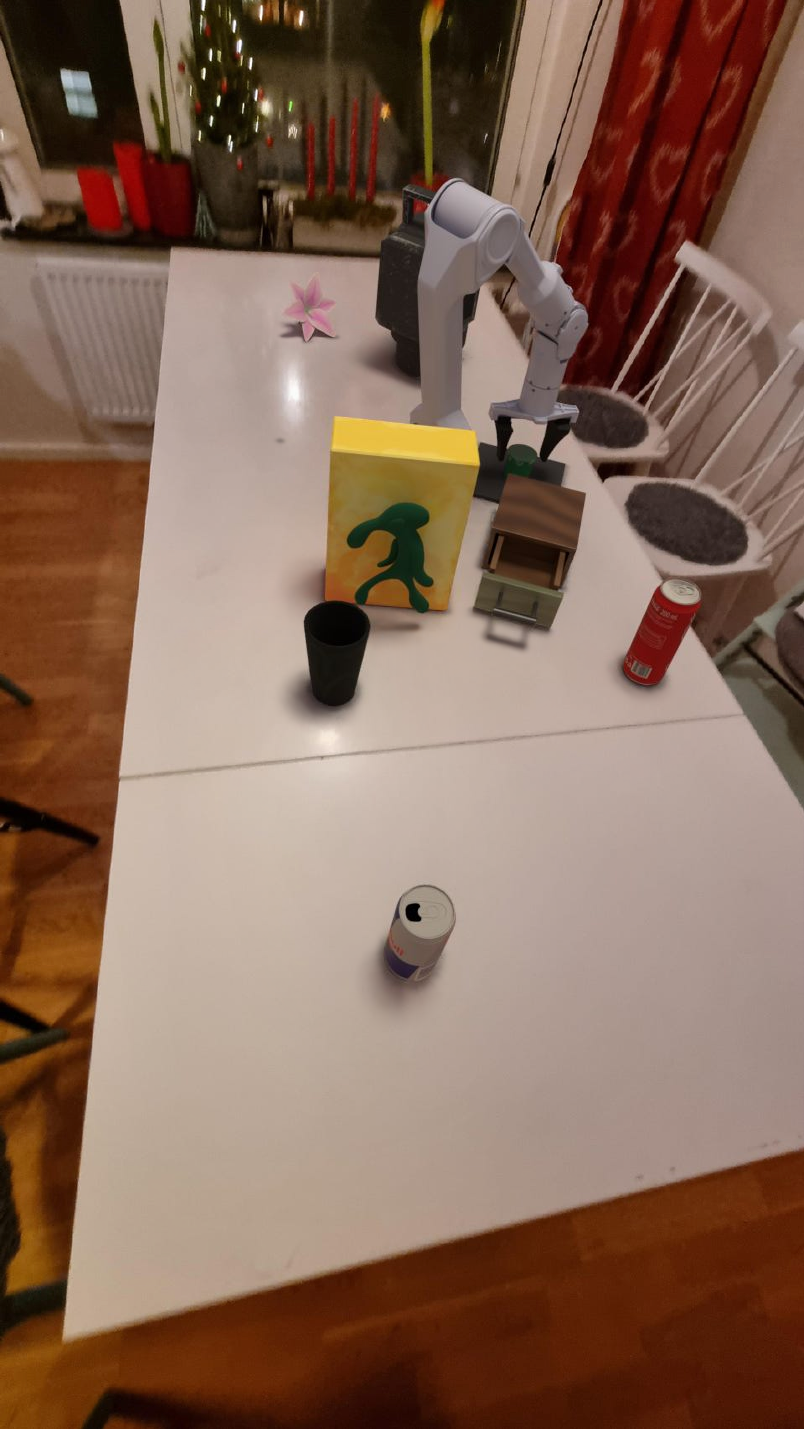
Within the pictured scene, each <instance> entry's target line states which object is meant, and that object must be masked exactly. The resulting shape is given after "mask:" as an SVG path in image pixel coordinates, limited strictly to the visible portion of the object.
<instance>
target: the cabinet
mask: <svg viewBox="0 0 804 1429" xmlns="http://www.w3.org/2000/svg"><path fill="white" fill-rule="evenodd" d="M586 498H587V492H584V491H580V490H576V489H572V488H568V487H565V486H562V485H561V486H557V485H553V484H549V483H545V482H541V481H538V480H534V479H530V478H526V477H522V476H518V475H514V474H510V473H508V476H507V479H506V483H505V486H504V489H503V493H502V496H501V499H500V502H499V503H498V506H497V509H496V513H495V515H494V520H493V523H492V526H491V530H490V533H489V537H488V541H487V545H486V548H485V552H484V555H483V560H482V563H481V568H483V569H487V570H489V569H490V565H491V562H492V558H493V555H494V551H495V548H496V544H497V541H498V537H499V534H502V535H506V536H510V537H514V538H518V539H521V540H525V541H529V542H533V543H537V544H540V545H544V546H548V547H552V548H556V549H559V550H563V551H566V554H565V559H564V565H563V570H562V576H561V581H560V586H559V589H562V588H563V584H564V582H565V579H566V577H567V575H568V572H569V570H570V568H571V565H572V563H573V560H574V557H575V555H576V552H577V549H578V544H579V539H580V534H581V533H580V532H581V527H582V522H583V514H584V509H585V505H586V504H585V503H586Z"/></svg>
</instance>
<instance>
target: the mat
mask: <svg viewBox="0 0 804 1429" xmlns="http://www.w3.org/2000/svg"><path fill="white" fill-rule="evenodd" d="M507 450H508V448H507V449H506V453H505V457H504V460H503V461H499V460H498V457H497V445H493V444H490V443H486V442H482V441H480V442H479V445H478V453H479V461H480V467H479V471H478V476H477V480H476V484H475V489H474V493H473V497H474V498H478V499H481V500H486V501H490V502H494V503H498V504H499V502H500V499H501V496H502V493H503V489H504V486H505V483H506V479H505V478H504V477H503V470H504V466H505V462H506V458H507ZM566 465H567V464H566V463H565V462H560V461H556V460H554V459H553V460H552V459H549V458H548V459H547V461H546V462H542V461H541V458H540V456H537V459H536V460H535V462H534V465H533V469H532V472H531V475H530V479H534V480H538V481H541V482H545V483H549V484H553V485H557V486H561V487H562V484H563V483H562V482H563V479H564V474H565V469H566Z"/></svg>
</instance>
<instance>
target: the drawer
mask: <svg viewBox="0 0 804 1429" xmlns="http://www.w3.org/2000/svg"><path fill="white" fill-rule="evenodd" d="M565 554H566V551H563V550H559V549H556V548H552V547H548V546H544V545H540V544H537V543H533V542H529V541H525V540H521V539H518V538H514V537H510V536H506V535H502V534H499V537H498V541H497V544H496V548H495V551H494V555H493V558H492V562H491V565H490V569H488V571H483V572H482V575H481V578H480V583H479V586H478V590H477V594H476V596H475V600H474V604H473V607H474V608H476V609H480V610H484V611H487V612H491V617H493V618H496V619H500V620H504V621H508V622H511V623H516V624H519V625H522V626H526V627H529V628H535V627H536V625H540V626H543V627H547V628H552V626H553V623H554V621H555V618H556V616H557V614H558V611H559V609H560V606H561V603H562V601H563V599H564V592H563V591H559V589H560V588H559V586H560V581H561V576H562V570H563V565H564V559H565Z"/></svg>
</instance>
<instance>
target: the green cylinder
mask: <svg viewBox="0 0 804 1429" xmlns="http://www.w3.org/2000/svg"><path fill="white" fill-rule="evenodd" d="M507 449H508V450H507V458H506V462H505V466H504V470H503V477H504V478H505V479H507V476H508V473H510V474H514V475H518V476H522V477H526V478H530V475H531V472H532V469H533V465H534V462H535V460H536V459H537V457H539V454H538V452H537V450H536V449H535V448H533V447H532V446H531V445H527V444H524V443H513V444H511V445H509V446H507Z"/></svg>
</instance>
